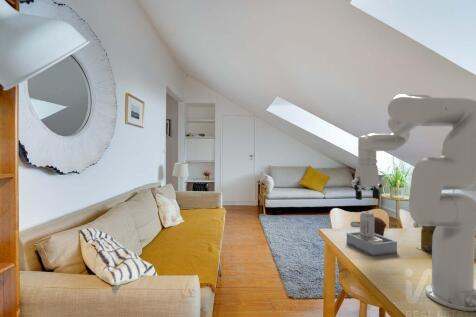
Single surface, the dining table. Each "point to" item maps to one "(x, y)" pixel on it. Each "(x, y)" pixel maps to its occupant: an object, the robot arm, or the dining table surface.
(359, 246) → the walled box
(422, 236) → the condiment
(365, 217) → the energy drink can
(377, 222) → the muffin
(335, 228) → the dining table surface
